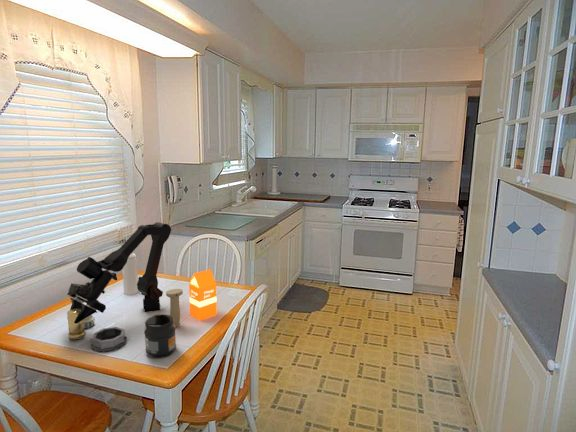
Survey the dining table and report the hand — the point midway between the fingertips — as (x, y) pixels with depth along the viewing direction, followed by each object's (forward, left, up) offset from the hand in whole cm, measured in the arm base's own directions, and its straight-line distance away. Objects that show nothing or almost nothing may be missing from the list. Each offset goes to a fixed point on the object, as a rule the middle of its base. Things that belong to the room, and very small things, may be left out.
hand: (71, 321), depth 141 cm
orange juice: (-49, -7, -8) cm, 50 cm away
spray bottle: (-18, -43, -8) cm, 47 cm away
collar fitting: (-13, +7, -7) cm, 17 cm away
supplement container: (-31, +18, -8) cm, 37 cm away
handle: (-37, 0, -8) cm, 38 cm away
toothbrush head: (-1, -20, -8) cm, 22 cm away
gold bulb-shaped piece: (-1, -1, -7) cm, 7 cm away
